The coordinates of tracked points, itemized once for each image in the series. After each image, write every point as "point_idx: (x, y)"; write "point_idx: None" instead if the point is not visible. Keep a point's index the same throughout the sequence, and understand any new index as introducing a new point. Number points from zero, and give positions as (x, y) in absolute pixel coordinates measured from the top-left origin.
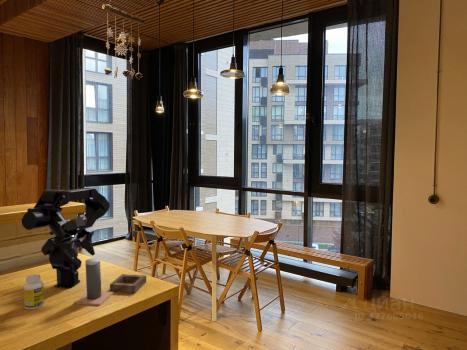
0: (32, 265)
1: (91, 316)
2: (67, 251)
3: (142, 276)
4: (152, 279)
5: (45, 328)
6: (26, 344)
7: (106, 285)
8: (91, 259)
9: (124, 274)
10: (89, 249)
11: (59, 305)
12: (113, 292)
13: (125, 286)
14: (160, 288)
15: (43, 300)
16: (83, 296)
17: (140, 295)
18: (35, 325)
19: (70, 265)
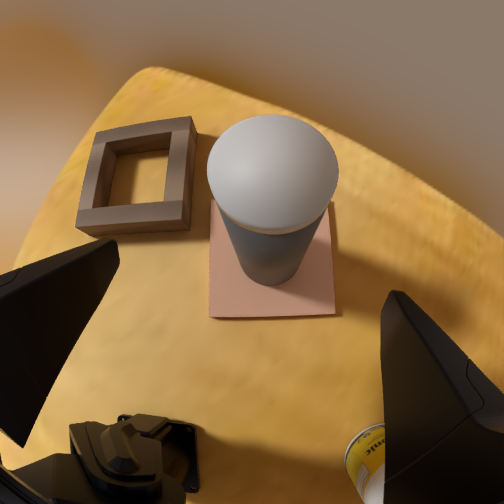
0: None
1: (398, 188)
2: (453, 381)
3: (102, 139)
4: (87, 140)
5: (487, 286)
6: None
7: (137, 277)
8: (252, 188)
9: (78, 216)
10: (74, 296)
11: (359, 363)
12: (211, 200)
13: (188, 153)
14: (157, 87)
15: (370, 432)
16: (277, 305)
17: (214, 111)
18: (482, 330)
19: (156, 459)
